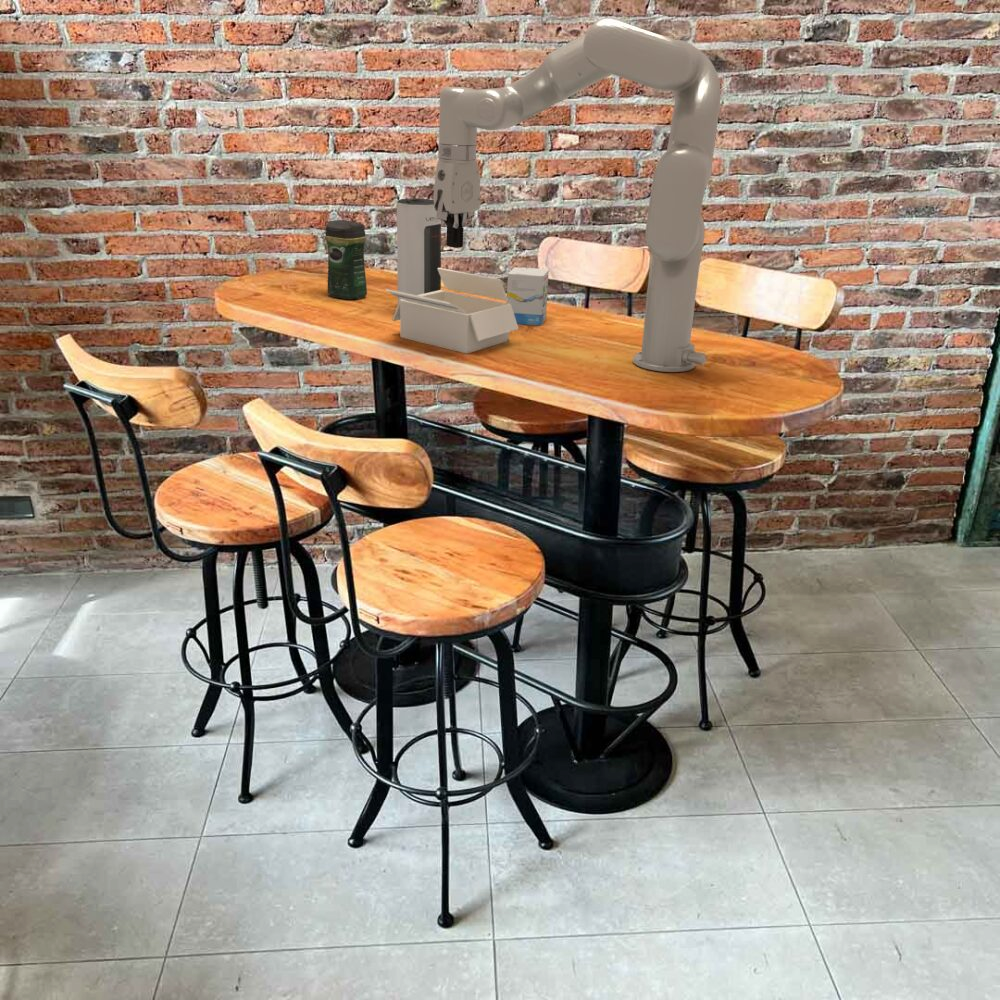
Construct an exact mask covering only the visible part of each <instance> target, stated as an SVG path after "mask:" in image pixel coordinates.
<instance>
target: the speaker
mask: <svg viewBox="0 0 1000 1000" xmlns="http://www.w3.org/2000/svg"><path fill="white" fill-rule="evenodd" d="M436 216H437V211H436V210H435V208H434V199H431V198H430V199H429V198H418V197H417V198H416V197H409V198H402V199H401V198H400V199H398V200H396V245H397V246H396V251H397V253H396V255H397V258H396V260H397V266H396V267H397V291H399V292H404V293H408V294H413V295H420V294H425V293H429V292H434V291H438V290H442V279H441V277H440V274H439V271H438V268H442V220H441V219H437V217H436ZM400 299H401V298H399V297H397V304H398V303H399V300H400Z"/></svg>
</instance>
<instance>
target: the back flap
mask: <svg viewBox="0 0 1000 1000" xmlns="http://www.w3.org/2000/svg"><path fill="white" fill-rule="evenodd" d="M438 271H439V274H440V277H441V283H442V284H443V287H444V289H445V290H449V291H456V292H458V293H465V294H470V295H475V296H478V297H479V296H480V297H485V298H489V299H494V300H500V301H504V302H505V301H506V302H507V300H508V299H507V292H506V290H505V288H504V284H503V282H502V279H501V278H496V277H491V276H485V275H480V274H474V273H469V272H464V271H459V270H453V269H448V268H442V267H441V268H438Z"/></svg>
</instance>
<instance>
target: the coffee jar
mask: <svg viewBox="0 0 1000 1000" xmlns="http://www.w3.org/2000/svg"><path fill="white" fill-rule="evenodd" d="M324 235H325V240H326V245H327V254H328V255H327V256H328V257H327V259H328V262H327V263H328V264H327V295H329V296H330V297H334V298H338V299H341V300H352V299H356V300H359V299H363V298H365V297H366V296H367V294H368V290H367V289H368V288H367V287H368V285H367V278H366V277H367V276H366V268H365V253H364V251H365V250H364V249H365V243H366V238H367V237H366V229H365V226H364V224H363V223H362V222H357V221H352V220H345V219H337V220H336V219H335V220H329V221H328V222H327V223H326V226H325V234H324Z"/></svg>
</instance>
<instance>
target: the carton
mask: <svg viewBox="0 0 1000 1000" xmlns="http://www.w3.org/2000/svg"><path fill="white" fill-rule="evenodd" d="M418 296H422V297H427V298H432V299H436V300H441V301H446V302H450V303H452V304H454V305H456V306H457V307H459V308H461V309H463V310H465V313H463V312H459V311H454V310H450V309H445V308H440V307H436V306H431V305H427V304H422V303H417V302H413V301H408V300H404V299H400V300H399V303H398V302H397V306H396V309H395V312H394V314H393V317H392V322H396V321H400V322H399V324H400V325H399V326H400V327H399V328H400V330H399V331H400V335H399V336H400V338H401V339H405V340H409V341H413V342H417V343H422V344H424V345H425V344H426V345H428V346H432V347H433V346H435V347H438V348H442V349H447V350H450V351H455V352H458V353H461V354H466V355H467V354H470V353H474V352H476V351H481V350H483V349H487V348H490V347H493V346H496V345H499V344H503V343H506V342H509V341H510V332H513V331H516V330H519V324H517V322H516V319H515V316H514V312H513V309H512V306H511V304H507V303H506V302H502V301H498V300H497V301H496V300H492V299H487V298H482V297H479V296H478V297H477V296H473V295H468V294H467V295H466V294H462V293H459V292H453V291H450V290H449V291H447V290H443V289H441V290H438V291H434V292H429V293H425V294H420V295H418Z"/></svg>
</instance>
